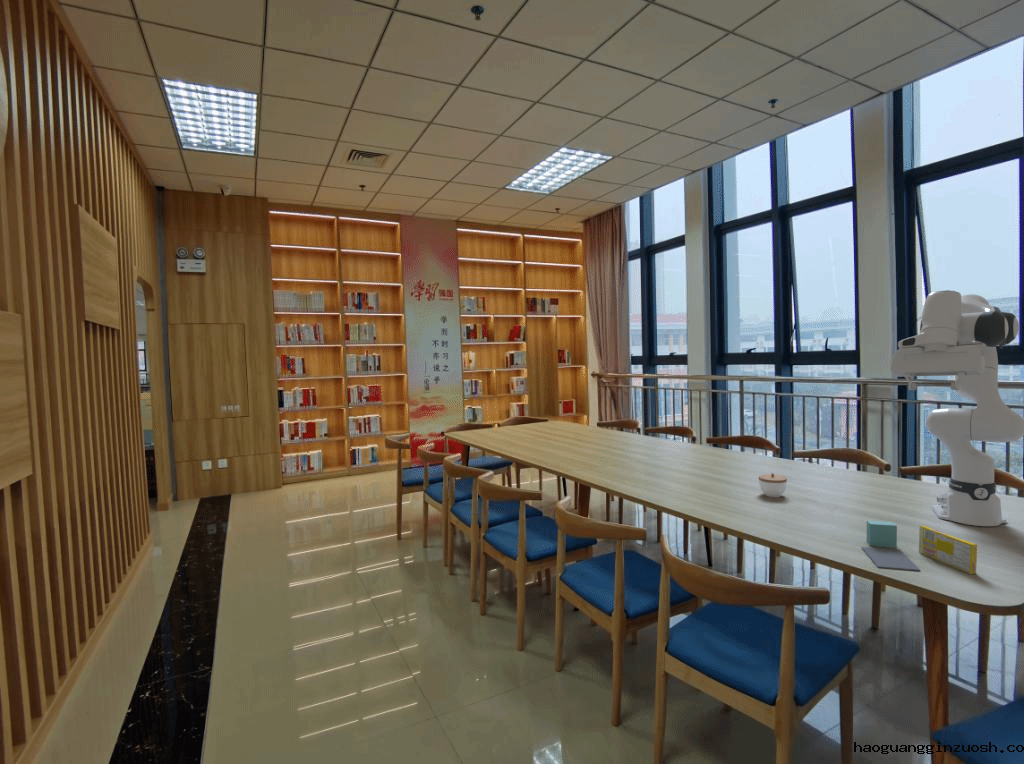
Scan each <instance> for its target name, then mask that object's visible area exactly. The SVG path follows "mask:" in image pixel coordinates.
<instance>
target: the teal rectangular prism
mask: <svg viewBox="0 0 1024 764" xmlns="http://www.w3.org/2000/svg"><path fill="white" fill-rule="evenodd" d="M897 529H898V526H897V524H896V523H894V522H893V521H883V520H867V519H866V543H867V544H868V545H869V546H870V547H878V548H891V549H894V548H895V549H897V547H898V546H897V543H898V542H897V541H898V539H897V538H898V536H897V535H898V534H897V532H898V530H897Z"/></svg>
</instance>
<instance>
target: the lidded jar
mask: <svg viewBox="0 0 1024 764" xmlns="http://www.w3.org/2000/svg"><path fill="white" fill-rule="evenodd" d="M787 481H788V478H787V477H786V476H784V475H779V474H775V473H774V472H772V473H770V474H769V473H767V474H760V475H759V476H758V486H759V489H760V491H761V493H763V494H764V495H765V496H766V497H768V498H781V496H782V495H783V494H784V493H785V492H786V490H787Z"/></svg>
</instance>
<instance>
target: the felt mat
mask: <svg viewBox="0 0 1024 764" xmlns="http://www.w3.org/2000/svg"><path fill="white" fill-rule="evenodd" d="M861 550H863V552H864V553H865V554H866V556H868V557H869V559H870V560H871V561H872V563H873V562H874V563H873V564H874V565H875V567H876V568H878V569H888V570H889V569H890V570H902V571H913V572H914V571H915V572H921V569H920V568H919V567H918V566H917V565H916V564H915V563H914V562H913V561H912V559H910V558H909V557H908V556H907V555H906V554H905V553H904V552H903V551H902V550H901V549H897V548H895V549H894V548H885V547H872V546H870V547H868V546H861Z"/></svg>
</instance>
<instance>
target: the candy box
mask: <svg viewBox="0 0 1024 764" xmlns="http://www.w3.org/2000/svg"><path fill="white" fill-rule="evenodd" d="M918 536H919V537H918V553H919V554H922V555H925V556H927V557H929V558H931V559H933V560H934V559H935V560H936V561H938V562H941V563H943V564H945V565H948V566H951V567H953V568H955V569H957V570H961V571H963V572H964V573H966V574H969V575H976V574H977V561H978V544H977V543H974V542H971V541H968V540H965V539H963V538H960V537H957V536H955V535H951V534H949V533H946V532H944V531H941V530H938V529H935V528H932V527H929V526H926V525H919V535H918Z"/></svg>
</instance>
